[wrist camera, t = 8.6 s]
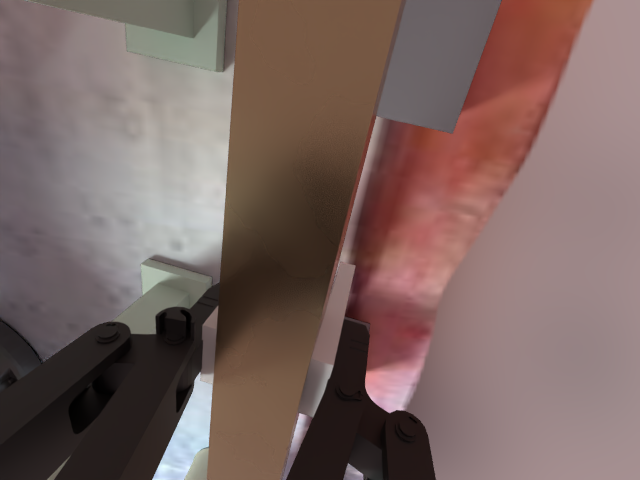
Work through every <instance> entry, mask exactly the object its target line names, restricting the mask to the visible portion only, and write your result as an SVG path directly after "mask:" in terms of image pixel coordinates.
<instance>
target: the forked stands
mask: <svg viewBox="0 0 640 480" xmlns="http://www.w3.org/2000/svg"><path fill="white" fill-rule="evenodd" d="M24 1H29V2H33V3H38V4H42V5H46V6H51V7H55V8H60V9H64V10H68V11H73V12H77V13H82V14H86V15H90V16H95V17H99V18H104V19H108V20H112V21H117V22H121V23H125V30H126V46H127V51H128V52H132V53H136V54H141V55H145V56H149V57H154V58H158V59H162V60H167V61H171V62H176V63H180V64H184V65H189V66H193V67H197V68H202V69H206V70H210V71H215V72H223V66H224V47H225V29H226V10H227V0H24ZM141 279H142V295H143V296H142V297H140V298H139V299H138V300H137V301H136V302H134V303H133V304H132V305H131V306H130V307H128V308H127V309H126V310H125V311H124V312H122V313H121V314H120V315H119V316H118V317H117V318H115V319H114V320H113V321H112V322H121V323H124V324H126V325H127V326H129V328H130V331H131V334H156V321H155V316H156V315H157V314H158V313H159V312H160V311H162V310H164V309H166V308H170V307H175V306H176V307H185V308H188V309H190V308H191V307H192V306H193V305H194V304H195V303H196V302H197V301H198V299H199V298H200V297H202V295H203V294H204V293H205V292H206V291H207V290H208V289H209V288H210V287H212V277H209V276H206V275H203V274H199V273H196V272H192V271H189V270H185V269H182V268H179V267H175V266H172V265H168V264H165V263H161V262H158V261H155V260H151V259H147V260H146V261H144V262H143V263H142V264H141ZM68 459H69V458H68ZM68 459H67V460H68ZM67 460H66V461H65V462H64V463H63V464H62V465H61V466H60V467H59V468H58V469H57V470H56V471H55V472H54V473H53V474H52V475H51V476H50V477H49V478H48V479H47V480H54V479H55V477H56V476H57V475H58V473H59V472H60V470H61V469H62V467H63V466H64V465H65V463H66V462H67Z"/></svg>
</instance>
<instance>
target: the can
mask: <svg viewBox="0 0 640 480" xmlns="http://www.w3.org/2000/svg"><path fill="white" fill-rule="evenodd" d="M208 451H209V448H205V449H202V450H200V451H199V452H198V453H197V454H196V455H195V457H194V460H193V463H192V465H191V467H190V469H189V471H188V473H187V475H186V477H185V479H184V480H207V466H208Z"/></svg>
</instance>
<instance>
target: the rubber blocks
mask: <svg viewBox="0 0 640 480" xmlns="http://www.w3.org/2000/svg"><path fill="white" fill-rule="evenodd" d="M501 1H502V0H406V3H405V7H404V11H403V15H402V19H401V23H400V27H399V30H398V34H397V38H396V42H395V46H394V50H393V54H392V57H391V61H390V65H389V69H388V73H387V77H386V81H385V84H384V88H383V92H382V96H381V100H380V104H379V108H378V111H377V115H376V116H378V117H383V118H387V119H391V120H396V121H400V122H404V123H409V124H413V125H417V126H422V127H426V128H430V129H434V130H439V131H443V132H447V133H452V134H453V131H454V129H455V126H456V123H457V120H458V118H459V115H460V112H461V110H462V107H463V104H464V101H465V99H466V96H467V93H468V91H469V88H470V85H471V82H472V80H473V77H474V74H475V72H476V69H477V66H478V63H479V61H480V58H481V55H482V53H483V50H484V47H485V44H486V42H487V39H488V36H489V34H490V31H491V28H492V25H493V23H494V20H495V17H496V15H497V12H498V9H499V6H500V4H501ZM344 319H346V320H349V321H353V322H356V323H360V324H363V325H366V327H367V330H368V332H369V329H370V324H369V323H365V322H362V321H358V320H355V319H351V318H348V317H345V316H344Z"/></svg>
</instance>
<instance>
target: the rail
mask: <svg viewBox="0 0 640 480" xmlns="http://www.w3.org/2000/svg"><path fill="white" fill-rule="evenodd" d="M405 3H406V0H239V5H238V20H237V35H236V50H235V65H234V80H233V95H232V109H231V124H230V139H229V154H228V169H227V184H226V199H225V213H224V228H223V243H222V258H221V273H220V288H219V303H218V318H217V332H216V347H215V362H214V377H213V392H212V407H211V422H210V437H209V451H208V466H207V480H282V478H283V474H284V470H285V466H286V463H287V459H288V455H289V451H290V447H291V443H292V439H293V436H294V432H295V428H296V424H297V420H298V416H299V413H298V408H299V405H300V401H301V397H302V393H303V389H304V385H305V381H306V377H307V373H308V369H309V365H310V361H311V358H312V354H313V351H314V348H315V345H316V341H317V338H318V335H319V332H320V328H321V325H322V322H323V318H324V315H325V312H326V308H327V304H328V301H329V297H330V293H331V289H332V285H333V281H334V277H335V274H336V270H337V266H338V262H339V258H340V254H341V250H342V247H343V243H344V239H345V235H346V231H347V227H348V223H349V220H350V216H351V212H352V208H353V204H354V200H355V196H356V192H357V189H358V185H359V181H360V177H361V173H362V169H363V165H364V162H365V158H366V154H367V150H368V146H369V142H370V138H371V135H372V131H373V127H374V123H375V119H376V115H377V111H378V108H379V104H380V100H381V96H382V92H383V88H384V84H385V81H386V77H387V73H388V69H389V65H390V61H391V57H392V54H393V50H394V46H395V42H396V38H397V34H398V30H399V27H400V23H401V19H402V15H403V11H404V7H405Z"/></svg>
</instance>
